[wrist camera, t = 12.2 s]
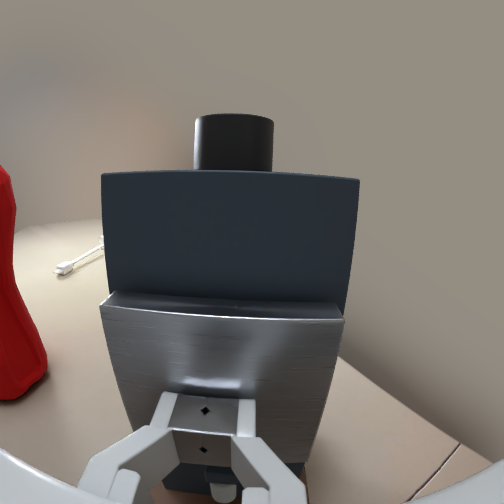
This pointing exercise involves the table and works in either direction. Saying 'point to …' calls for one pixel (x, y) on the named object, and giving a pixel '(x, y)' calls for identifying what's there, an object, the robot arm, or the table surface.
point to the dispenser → (228, 246)
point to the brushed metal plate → (227, 358)
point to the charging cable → (67, 266)
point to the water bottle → (15, 312)
